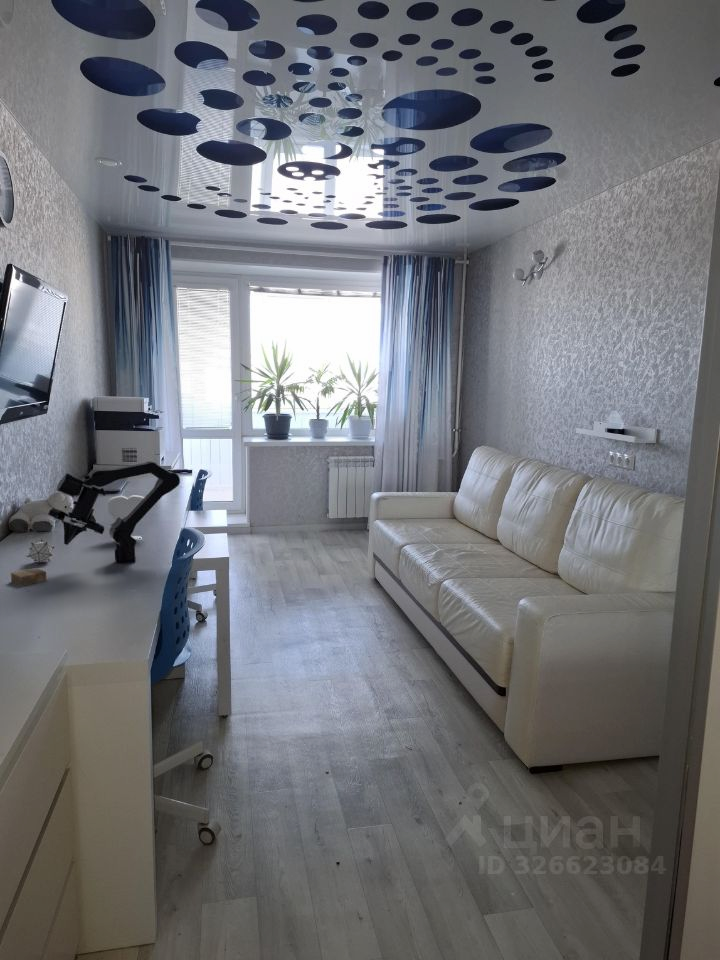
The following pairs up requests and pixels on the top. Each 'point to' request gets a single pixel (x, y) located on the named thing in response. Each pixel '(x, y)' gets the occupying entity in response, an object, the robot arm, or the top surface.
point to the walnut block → (28, 576)
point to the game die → (40, 552)
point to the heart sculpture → (123, 507)
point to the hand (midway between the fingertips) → (65, 544)
